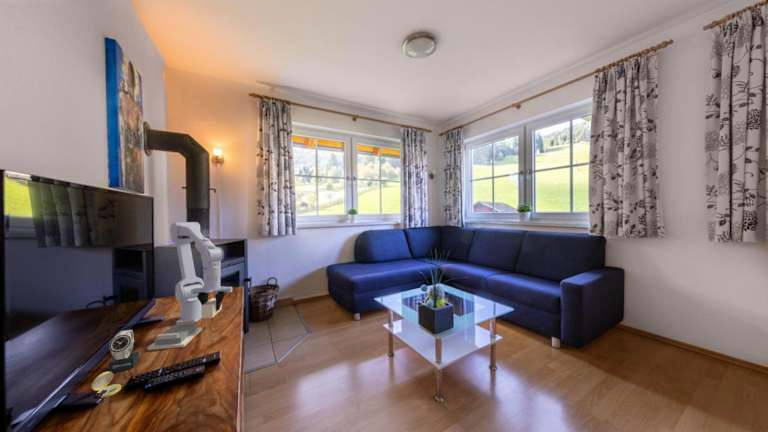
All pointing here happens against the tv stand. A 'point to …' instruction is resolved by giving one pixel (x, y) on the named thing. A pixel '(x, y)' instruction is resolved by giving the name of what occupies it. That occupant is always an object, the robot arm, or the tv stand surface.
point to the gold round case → (105, 384)
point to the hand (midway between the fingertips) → (211, 310)
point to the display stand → (176, 335)
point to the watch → (123, 352)
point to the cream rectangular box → (209, 309)
